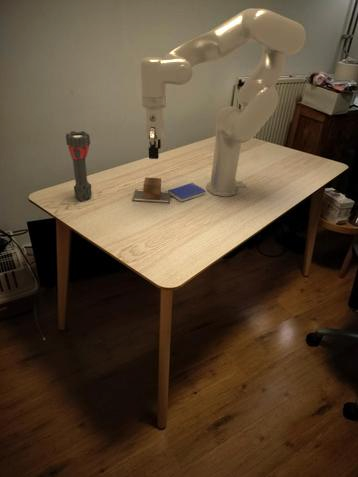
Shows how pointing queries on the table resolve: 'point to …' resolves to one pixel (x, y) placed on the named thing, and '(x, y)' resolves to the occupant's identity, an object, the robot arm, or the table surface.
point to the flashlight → (79, 162)
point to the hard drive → (186, 192)
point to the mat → (139, 197)
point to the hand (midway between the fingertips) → (155, 153)
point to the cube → (152, 188)
